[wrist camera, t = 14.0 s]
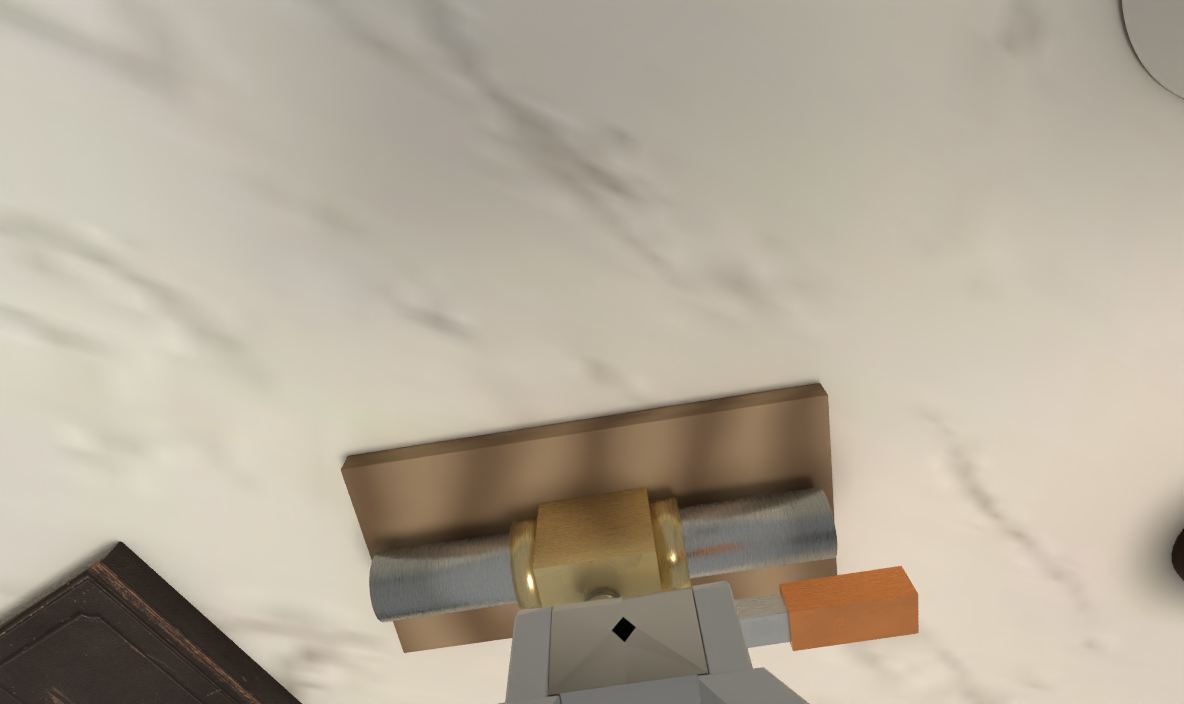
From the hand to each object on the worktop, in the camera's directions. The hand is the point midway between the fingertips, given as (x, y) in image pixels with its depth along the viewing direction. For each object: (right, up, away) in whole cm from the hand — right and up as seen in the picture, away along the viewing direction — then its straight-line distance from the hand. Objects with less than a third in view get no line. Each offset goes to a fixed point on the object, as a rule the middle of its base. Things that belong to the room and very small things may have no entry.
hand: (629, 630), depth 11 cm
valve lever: (+7, -9, +28) cm, 30 cm away
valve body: (0, -6, +37) cm, 37 cm away
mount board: (0, -6, +37) cm, 37 cm away
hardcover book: (-30, -20, +43) cm, 56 cm away
